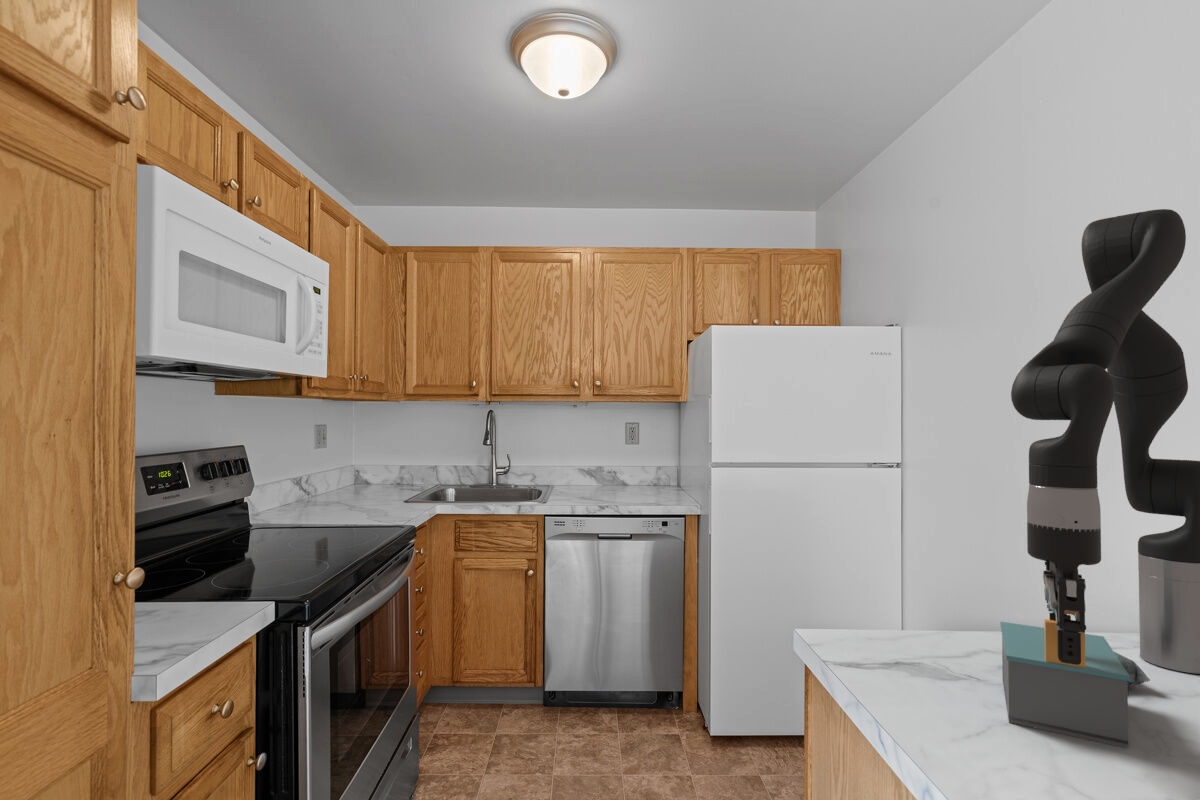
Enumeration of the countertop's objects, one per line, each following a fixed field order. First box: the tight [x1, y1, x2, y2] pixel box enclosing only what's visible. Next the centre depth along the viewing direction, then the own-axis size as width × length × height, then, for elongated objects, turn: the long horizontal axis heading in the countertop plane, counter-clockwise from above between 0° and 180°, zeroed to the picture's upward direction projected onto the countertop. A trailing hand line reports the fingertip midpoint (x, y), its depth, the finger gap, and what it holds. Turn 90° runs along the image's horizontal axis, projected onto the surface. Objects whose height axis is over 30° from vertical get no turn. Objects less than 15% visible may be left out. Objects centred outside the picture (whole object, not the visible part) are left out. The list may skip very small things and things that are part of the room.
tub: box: [1001, 636, 1129, 749], centre depth 85 cm, size 16×12×8 cm
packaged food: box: [1113, 650, 1151, 687], centre depth 96 cm, size 9×12×5 cm
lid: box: [999, 618, 1130, 681], centre depth 85 cm, size 16×12×6 cm
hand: (1064, 652), depth 79 cm, fingers open, 7 cm apart
